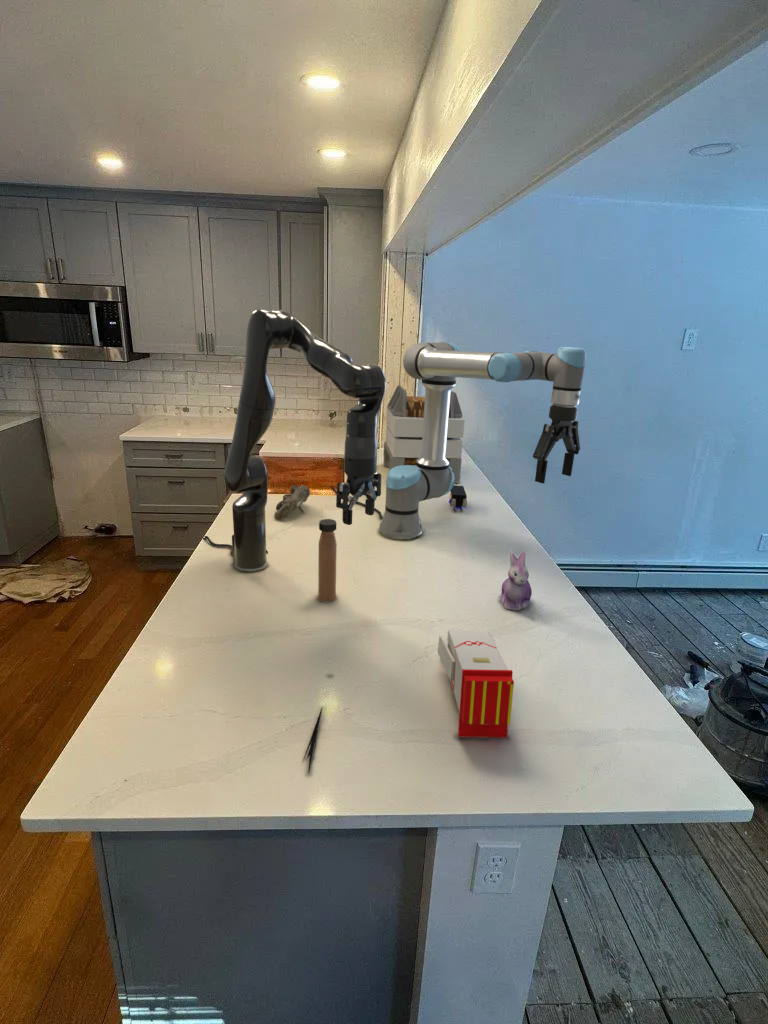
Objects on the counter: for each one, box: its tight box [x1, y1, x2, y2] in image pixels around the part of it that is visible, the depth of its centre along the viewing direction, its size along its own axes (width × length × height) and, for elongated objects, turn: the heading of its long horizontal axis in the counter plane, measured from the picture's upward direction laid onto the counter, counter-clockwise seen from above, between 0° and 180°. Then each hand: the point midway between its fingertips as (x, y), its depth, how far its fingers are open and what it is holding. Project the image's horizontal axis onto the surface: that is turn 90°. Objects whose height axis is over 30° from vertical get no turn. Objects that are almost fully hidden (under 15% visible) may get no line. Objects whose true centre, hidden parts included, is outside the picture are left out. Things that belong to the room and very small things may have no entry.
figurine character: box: [448, 484, 468, 512], centre depth 228 cm, size 7×8×15 cm
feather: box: [301, 673, 332, 771], centre depth 108 cm, size 2×28×2 cm
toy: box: [437, 628, 515, 738], centre depth 117 cm, size 12×13×30 cm
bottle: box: [317, 531, 338, 602], centre depth 151 cm, size 5×5×22 cm
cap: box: [318, 518, 337, 532], centre depth 147 cm, size 4×4×2 cm
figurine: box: [500, 550, 533, 611], centre depth 153 cm, size 9×10×15 cm
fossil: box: [273, 484, 311, 521], centre depth 215 cm, size 22×10×15 cm
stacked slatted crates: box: [383, 384, 465, 484], centre depth 268 cm, size 34×33×41 cm
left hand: (358, 519), depth 136 cm, fingers open, 8 cm apart
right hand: (553, 478), depth 165 cm, fingers open, 13 cm apart
